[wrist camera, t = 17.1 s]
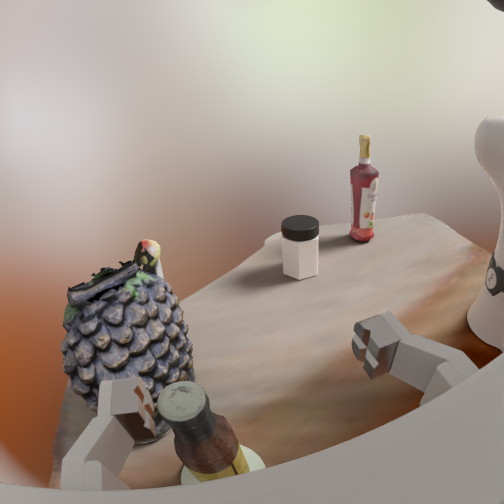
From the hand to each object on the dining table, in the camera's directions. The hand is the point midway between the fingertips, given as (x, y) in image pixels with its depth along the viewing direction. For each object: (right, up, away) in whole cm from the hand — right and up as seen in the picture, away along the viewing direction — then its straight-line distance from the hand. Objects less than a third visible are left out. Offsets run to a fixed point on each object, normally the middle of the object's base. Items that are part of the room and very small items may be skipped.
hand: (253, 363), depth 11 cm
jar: (+11, 0, +63) cm, 64 cm away
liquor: (+30, +8, +73) cm, 79 cm away
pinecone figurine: (-15, -20, +34) cm, 42 cm away
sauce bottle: (-3, -24, +21) cm, 32 cm away
